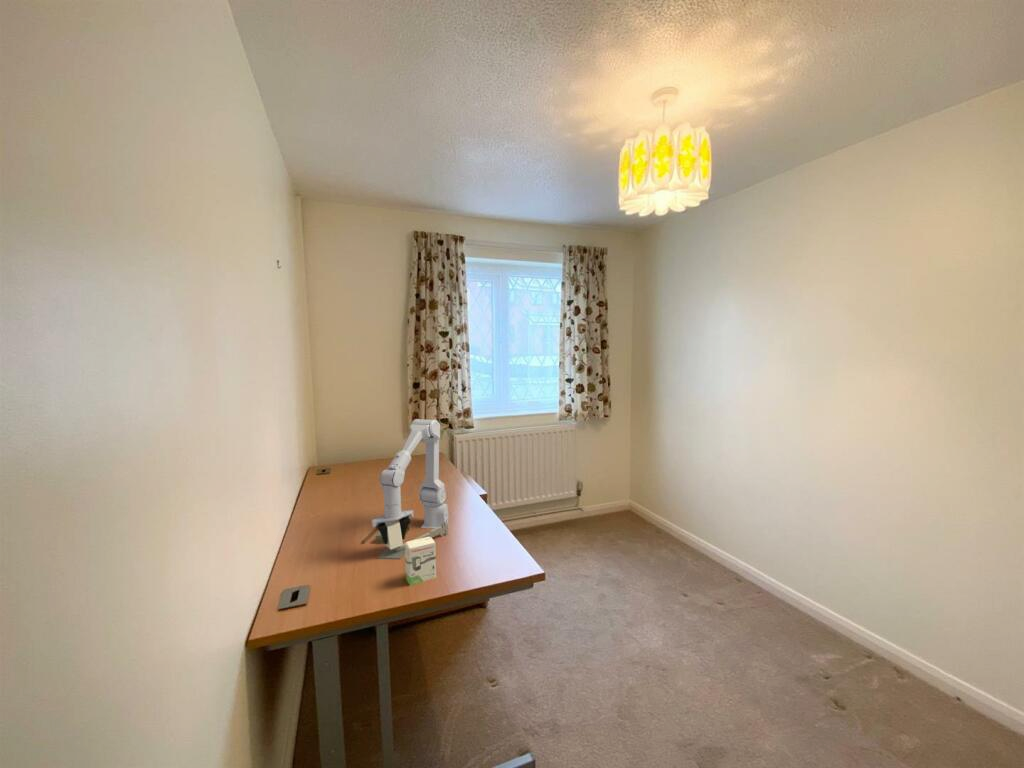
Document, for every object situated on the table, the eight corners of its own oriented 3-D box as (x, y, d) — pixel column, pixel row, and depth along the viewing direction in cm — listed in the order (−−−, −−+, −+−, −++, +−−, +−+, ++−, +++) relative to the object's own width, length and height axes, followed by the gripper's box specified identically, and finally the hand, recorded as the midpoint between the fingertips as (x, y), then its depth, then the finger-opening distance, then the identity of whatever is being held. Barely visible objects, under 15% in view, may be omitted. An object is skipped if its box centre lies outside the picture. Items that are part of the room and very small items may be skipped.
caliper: (446, 535, 156) (447, 520, 154) (447, 536, 155) (449, 521, 154) (395, 550, 143) (396, 534, 142) (396, 552, 142) (398, 536, 141)
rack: (409, 532, 160) (409, 522, 160) (397, 546, 148) (397, 535, 148) (376, 531, 162) (376, 521, 162) (362, 544, 150) (361, 534, 150)
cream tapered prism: (396, 539, 146) (393, 518, 146) (403, 544, 142) (399, 522, 141) (384, 544, 144) (381, 522, 143) (390, 549, 139) (387, 527, 138)
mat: (410, 548, 147) (409, 546, 146) (400, 560, 138) (400, 558, 138) (388, 547, 147) (388, 545, 147) (378, 559, 139) (377, 557, 138)
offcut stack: (391, 541, 153) (390, 532, 152) (387, 545, 149) (386, 536, 149) (379, 541, 153) (379, 531, 153) (375, 545, 150) (374, 536, 149)
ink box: (409, 586, 122) (408, 548, 121) (405, 578, 126) (404, 542, 125) (436, 578, 126) (435, 541, 125) (432, 571, 130) (430, 535, 129)
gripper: (407, 495, 149) (409, 531, 150) (368, 504, 140) (369, 542, 141) (415, 500, 143) (416, 538, 144) (374, 510, 135) (376, 550, 135)
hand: (393, 540), depth 142 cm, fingers open, 6 cm apart
